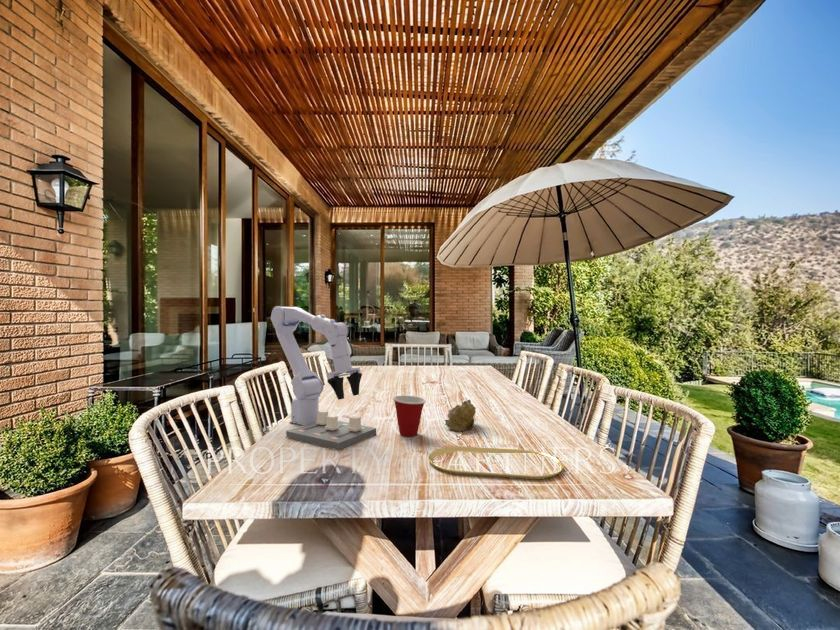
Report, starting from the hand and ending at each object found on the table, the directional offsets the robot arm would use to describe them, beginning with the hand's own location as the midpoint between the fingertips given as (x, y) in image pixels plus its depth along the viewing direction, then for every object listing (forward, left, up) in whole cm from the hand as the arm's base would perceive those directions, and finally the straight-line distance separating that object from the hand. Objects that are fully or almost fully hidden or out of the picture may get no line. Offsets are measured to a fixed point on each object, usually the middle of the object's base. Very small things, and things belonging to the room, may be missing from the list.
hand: (348, 397), depth 138 cm
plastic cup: (+19, +8, -12) cm, 24 cm away
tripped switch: (-1, -7, -9) cm, 11 cm away
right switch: (+6, -4, -9) cm, 12 cm away
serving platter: (+52, -2, -12) cm, 53 cm away
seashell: (+29, +26, -12) cm, 41 cm away
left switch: (-8, -4, -9) cm, 13 cm away
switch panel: (-1, -7, -11) cm, 13 cm away
